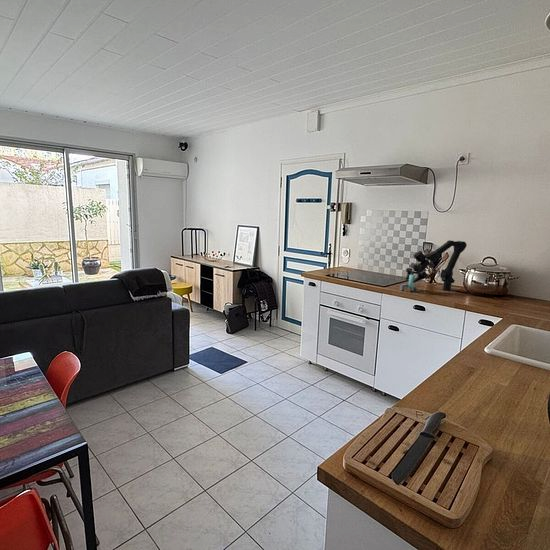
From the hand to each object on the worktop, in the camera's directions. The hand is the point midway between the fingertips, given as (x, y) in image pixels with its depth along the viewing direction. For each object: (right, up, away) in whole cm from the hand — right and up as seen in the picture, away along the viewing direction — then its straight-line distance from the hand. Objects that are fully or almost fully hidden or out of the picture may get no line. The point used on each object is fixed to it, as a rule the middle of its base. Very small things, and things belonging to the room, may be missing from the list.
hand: (409, 281), depth 267 cm
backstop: (-1, -7, +6) cm, 9 cm away
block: (+1, -8, +2) cm, 8 cm away
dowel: (+1, -8, +2) cm, 8 cm away
